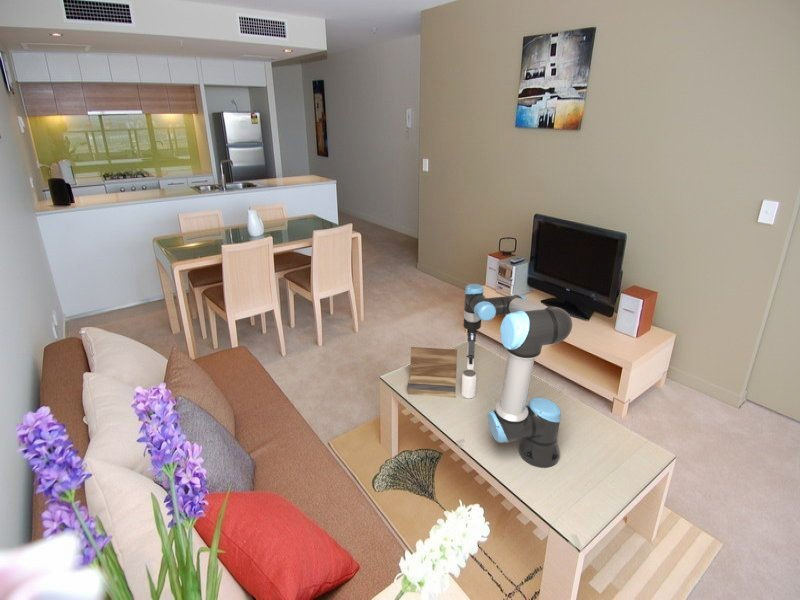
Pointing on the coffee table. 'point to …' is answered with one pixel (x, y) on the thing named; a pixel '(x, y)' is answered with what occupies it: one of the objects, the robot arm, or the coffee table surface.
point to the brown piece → (433, 372)
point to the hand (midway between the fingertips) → (470, 361)
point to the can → (468, 384)
